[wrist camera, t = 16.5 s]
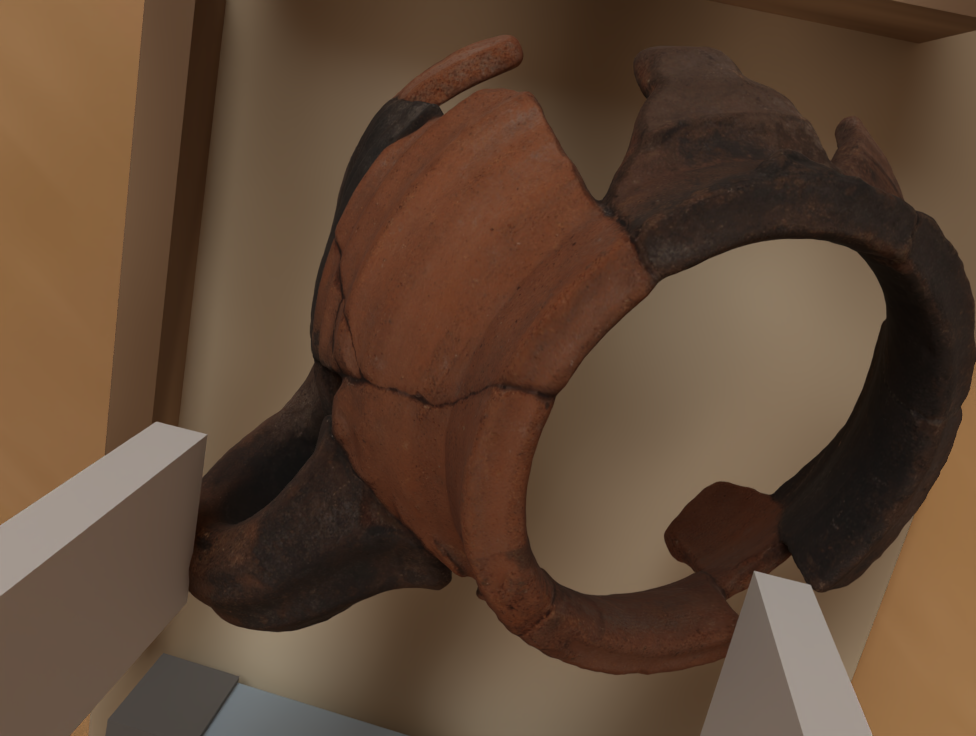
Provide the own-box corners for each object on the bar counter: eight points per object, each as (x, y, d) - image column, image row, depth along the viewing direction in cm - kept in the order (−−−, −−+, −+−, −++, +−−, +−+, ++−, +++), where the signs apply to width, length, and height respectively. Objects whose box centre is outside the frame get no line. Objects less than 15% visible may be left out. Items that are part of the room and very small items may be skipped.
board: (104, 752, 25) (-13, 898, 21) (198, -207, 19) (54, -318, 14) (740, 926, 24) (771, 1125, 19) (1095, -30, 17) (1278, -84, 13)
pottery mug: (586, -118, 15) (933, -113, 9) (782, 275, 21) (1097, 476, 14) (40, 314, 16) (-49, 647, 9) (365, 593, 21) (466, 942, 14)
